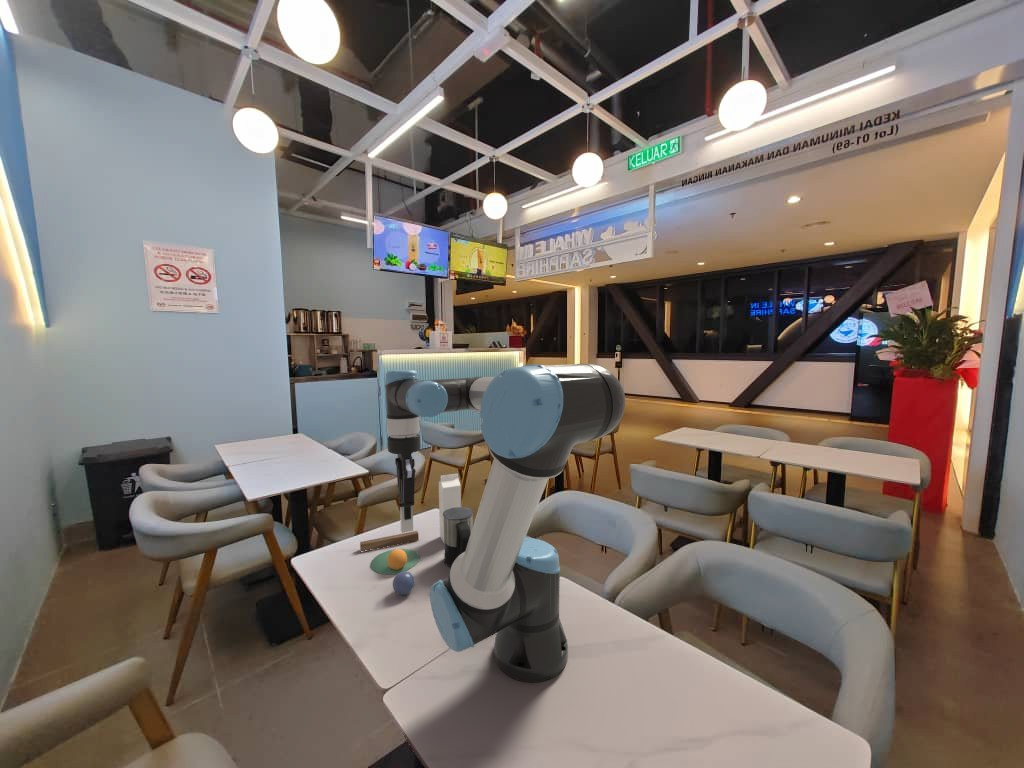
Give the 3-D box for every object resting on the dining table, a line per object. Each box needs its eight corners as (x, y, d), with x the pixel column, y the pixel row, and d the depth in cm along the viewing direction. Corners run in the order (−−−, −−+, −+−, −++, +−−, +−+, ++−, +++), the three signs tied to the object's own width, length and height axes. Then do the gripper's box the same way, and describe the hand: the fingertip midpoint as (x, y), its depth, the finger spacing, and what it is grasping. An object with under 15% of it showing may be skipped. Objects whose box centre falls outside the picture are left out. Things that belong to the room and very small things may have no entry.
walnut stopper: (418, 540, 131) (418, 533, 131) (360, 552, 123) (360, 544, 123) (417, 537, 133) (417, 530, 132) (360, 549, 125) (360, 542, 125)
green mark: (423, 566, 115) (423, 566, 115) (373, 578, 109) (372, 578, 109) (414, 545, 127) (414, 545, 127) (368, 555, 121) (368, 554, 121)
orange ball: (405, 543, 116) (404, 555, 118) (386, 547, 114) (385, 560, 116) (409, 558, 112) (408, 571, 114) (389, 562, 109) (388, 576, 112)
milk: (461, 540, 130) (461, 476, 128) (443, 544, 128) (442, 478, 126) (456, 533, 136) (455, 470, 134) (439, 536, 134) (438, 473, 132)
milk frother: (437, 559, 119) (436, 511, 118) (480, 542, 129) (480, 498, 128) (463, 580, 108) (462, 527, 107) (508, 560, 118) (507, 512, 117)
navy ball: (411, 564, 105) (411, 581, 106) (390, 570, 102) (391, 587, 104) (416, 577, 100) (417, 595, 102) (394, 584, 98) (395, 602, 99)
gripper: (425, 438, 89) (428, 538, 91) (414, 428, 101) (417, 517, 103) (391, 441, 86) (395, 545, 88) (383, 431, 98) (387, 523, 100)
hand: (407, 530), depth 96 cm, fingers closed
